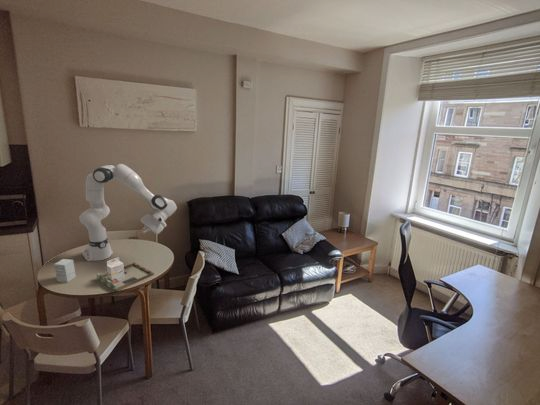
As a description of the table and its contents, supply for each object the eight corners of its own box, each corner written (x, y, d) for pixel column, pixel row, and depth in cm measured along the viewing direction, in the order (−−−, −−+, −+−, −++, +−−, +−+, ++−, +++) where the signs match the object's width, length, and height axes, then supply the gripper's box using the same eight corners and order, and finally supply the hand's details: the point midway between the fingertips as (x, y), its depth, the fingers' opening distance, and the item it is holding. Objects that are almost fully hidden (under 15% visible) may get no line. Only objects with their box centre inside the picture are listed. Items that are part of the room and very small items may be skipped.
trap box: (97, 279, 188) (96, 273, 187) (134, 264, 209) (134, 259, 208) (116, 291, 176) (115, 285, 175) (153, 274, 196) (153, 269, 195)
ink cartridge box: (112, 284, 183) (109, 263, 179) (108, 281, 186) (105, 261, 182) (125, 278, 190) (123, 258, 186) (121, 276, 192) (119, 256, 189)
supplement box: (65, 275, 190) (62, 258, 186) (76, 277, 189) (73, 259, 186) (56, 281, 183) (53, 263, 179) (67, 282, 182) (64, 265, 179)
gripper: (148, 209, 211) (132, 222, 205) (163, 222, 200) (148, 236, 195) (152, 214, 216) (137, 227, 210) (168, 227, 205) (152, 241, 200)
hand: (142, 231), depth 202 cm, fingers closed
